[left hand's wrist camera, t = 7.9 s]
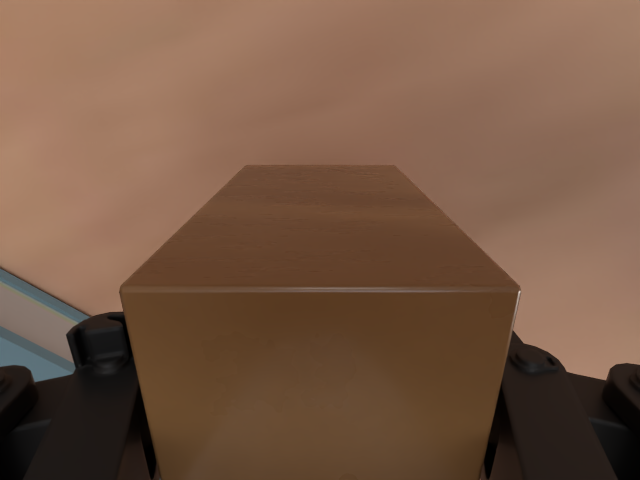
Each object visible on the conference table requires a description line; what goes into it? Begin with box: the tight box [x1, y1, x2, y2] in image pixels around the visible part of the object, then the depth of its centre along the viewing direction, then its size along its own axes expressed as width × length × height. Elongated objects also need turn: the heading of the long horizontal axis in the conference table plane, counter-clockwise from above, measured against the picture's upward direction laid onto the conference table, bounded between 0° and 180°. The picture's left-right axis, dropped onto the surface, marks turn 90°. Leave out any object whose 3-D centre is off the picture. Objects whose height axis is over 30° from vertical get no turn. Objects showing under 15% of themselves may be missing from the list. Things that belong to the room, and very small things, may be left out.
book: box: [0, 269, 91, 382], centre depth 29 cm, size 23×16×5 cm
